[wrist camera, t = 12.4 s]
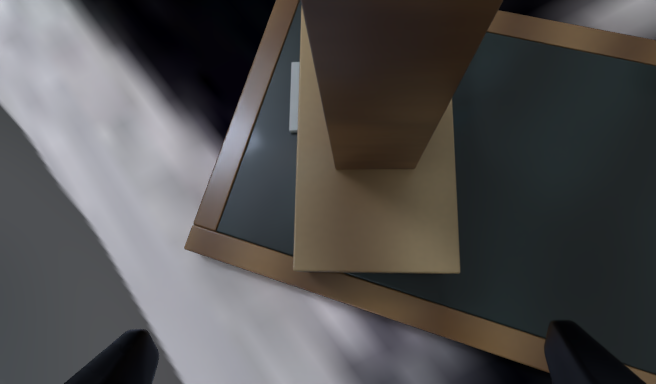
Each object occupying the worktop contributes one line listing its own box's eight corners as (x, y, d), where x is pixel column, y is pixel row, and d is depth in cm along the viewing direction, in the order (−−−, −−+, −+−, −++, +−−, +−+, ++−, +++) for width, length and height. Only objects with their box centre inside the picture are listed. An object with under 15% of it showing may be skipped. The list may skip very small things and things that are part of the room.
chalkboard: (799, 85, 18) (828, 72, 17) (750, 438, 16) (778, 451, 15) (291, -15, 23) (286, -31, 21) (194, 250, 20) (183, 248, 19)
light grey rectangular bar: (308, 64, 20) (307, 60, 20) (307, 132, 19) (305, 130, 19) (292, 65, 20) (291, 61, 20) (290, 133, 20) (289, 130, 19)
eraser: (435, 37, 20) (577, -407, 7) (444, 274, 17) (681, 263, 5) (308, 40, 20) (225, -373, 7) (302, 272, 18) (165, 257, 5)
